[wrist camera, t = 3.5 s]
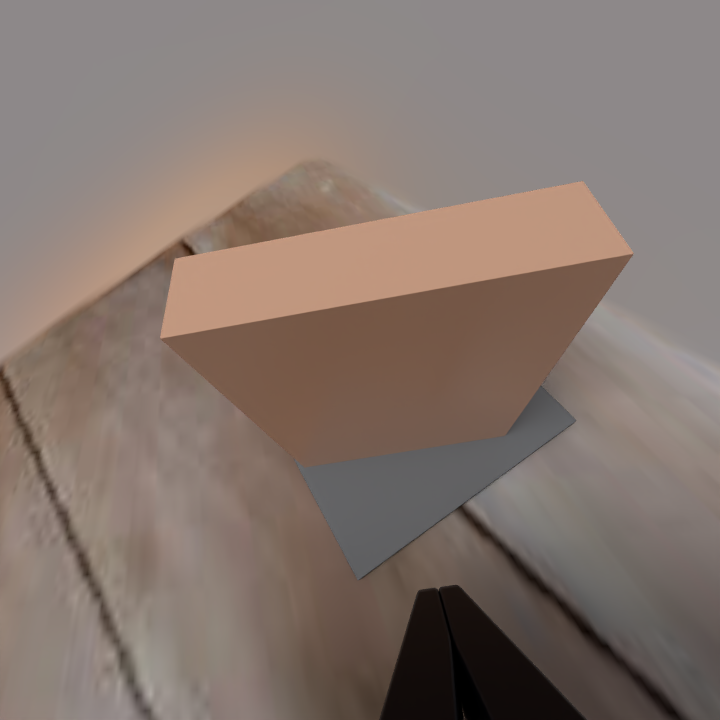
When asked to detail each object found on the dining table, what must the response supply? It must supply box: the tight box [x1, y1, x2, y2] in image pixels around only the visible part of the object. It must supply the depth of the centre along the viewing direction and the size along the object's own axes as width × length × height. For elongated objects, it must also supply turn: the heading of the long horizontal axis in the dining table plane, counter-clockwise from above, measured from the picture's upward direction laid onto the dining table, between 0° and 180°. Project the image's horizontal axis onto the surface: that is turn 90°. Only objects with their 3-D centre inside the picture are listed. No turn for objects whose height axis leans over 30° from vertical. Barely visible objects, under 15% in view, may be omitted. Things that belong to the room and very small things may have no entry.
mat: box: [294, 386, 576, 580], centre depth 20 cm, size 15×13×1 cm
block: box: [160, 181, 633, 468], centre depth 13 cm, size 2×10×12 cm, turn 97°
